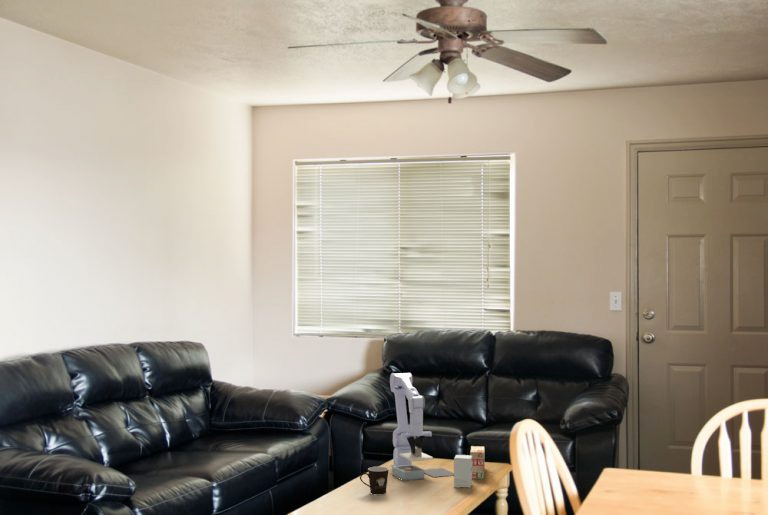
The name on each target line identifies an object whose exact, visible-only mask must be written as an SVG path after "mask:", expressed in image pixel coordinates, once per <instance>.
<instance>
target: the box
mask: <svg viewBox="0 0 768 515" xmlns="http://www.w3.org/2000/svg"><path fill="white" fill-rule="evenodd" d="M424 470H425V469H423V468H420V467H419V466H416V465H414V464H412V465H403V466H393V465H392V476H393V475H394V476H393V477H395V476H396V477H395V478H397V477H398V478H397V479H399V478H400V479H399V480H401V479H402V480H401V481H402V482H409V481H410V480H412V481H418V480H419V481H420V480H425V473H424Z"/></svg>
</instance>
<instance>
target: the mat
mask: <svg viewBox="0 0 768 515" xmlns="http://www.w3.org/2000/svg"><path fill="white" fill-rule="evenodd" d="M423 470H424V475H427V476H428V477H431V478H433V477H435V478H442V477H441V476H444V477H449V476H448V475H454V472H452V471H450V470H448V469H446V468H443V467H440V468H439V467H438V468H431V469H423Z"/></svg>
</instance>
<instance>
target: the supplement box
mask: <svg viewBox="0 0 768 515" xmlns="http://www.w3.org/2000/svg"><path fill="white" fill-rule="evenodd" d="M453 473H454V476H453V487H454V488H460V487H470V488H471V487H472V485H473V479H472V456H471V455H470V454H469V455H468V454H467V455H466V454H455V456H454V458H453Z"/></svg>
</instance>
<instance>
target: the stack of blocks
mask: <svg viewBox="0 0 768 515" xmlns="http://www.w3.org/2000/svg"><path fill="white" fill-rule="evenodd" d="M485 451H486V450H485V446H478V445H477V446H474V445H471V446H470V452H469V455H471V456H472V478H484V479H485V471H484V470H485V465H486V464H485V457H486V456H485V455H486V454H485Z"/></svg>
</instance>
